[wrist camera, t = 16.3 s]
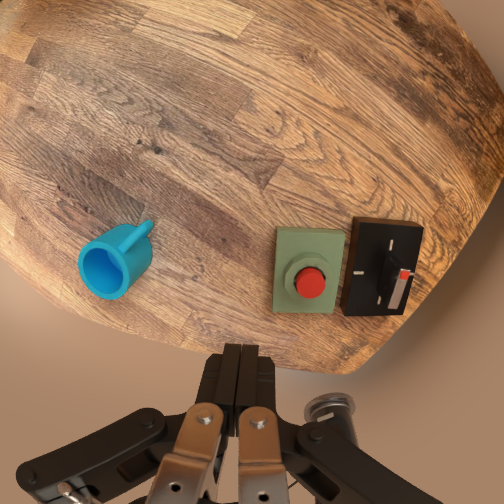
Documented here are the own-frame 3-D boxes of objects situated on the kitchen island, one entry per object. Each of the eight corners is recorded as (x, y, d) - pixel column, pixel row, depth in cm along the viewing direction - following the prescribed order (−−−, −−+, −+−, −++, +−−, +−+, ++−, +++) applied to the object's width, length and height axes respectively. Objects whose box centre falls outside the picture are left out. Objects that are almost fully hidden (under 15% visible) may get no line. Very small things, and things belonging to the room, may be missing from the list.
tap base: (395, 305, 41) (403, 315, 38) (339, 305, 42) (344, 317, 39) (414, 221, 36) (424, 227, 33) (353, 216, 37) (360, 222, 34)
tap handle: (384, 291, 37) (398, 310, 32) (375, 290, 37) (388, 309, 32) (395, 255, 35) (411, 271, 30) (385, 254, 35) (401, 269, 30)
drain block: (330, 305, 42) (335, 320, 38) (271, 304, 42) (272, 319, 38) (341, 229, 37) (349, 238, 34) (276, 226, 38) (277, 234, 34)
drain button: (321, 292, 37) (323, 298, 35) (294, 291, 37) (295, 298, 35) (324, 267, 36) (327, 273, 34) (296, 266, 36) (298, 272, 34)
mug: (132, 284, 42) (108, 310, 34) (98, 247, 40) (69, 267, 33) (180, 236, 39) (160, 257, 31) (141, 194, 37) (113, 206, 29)
